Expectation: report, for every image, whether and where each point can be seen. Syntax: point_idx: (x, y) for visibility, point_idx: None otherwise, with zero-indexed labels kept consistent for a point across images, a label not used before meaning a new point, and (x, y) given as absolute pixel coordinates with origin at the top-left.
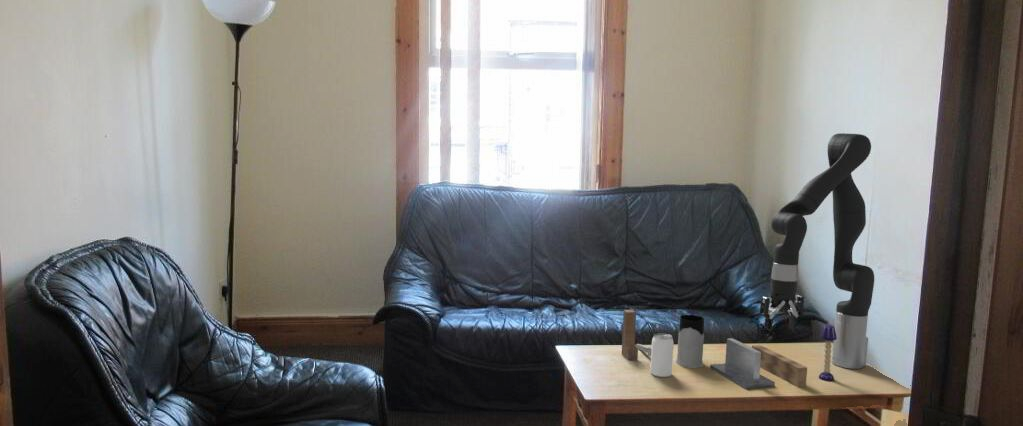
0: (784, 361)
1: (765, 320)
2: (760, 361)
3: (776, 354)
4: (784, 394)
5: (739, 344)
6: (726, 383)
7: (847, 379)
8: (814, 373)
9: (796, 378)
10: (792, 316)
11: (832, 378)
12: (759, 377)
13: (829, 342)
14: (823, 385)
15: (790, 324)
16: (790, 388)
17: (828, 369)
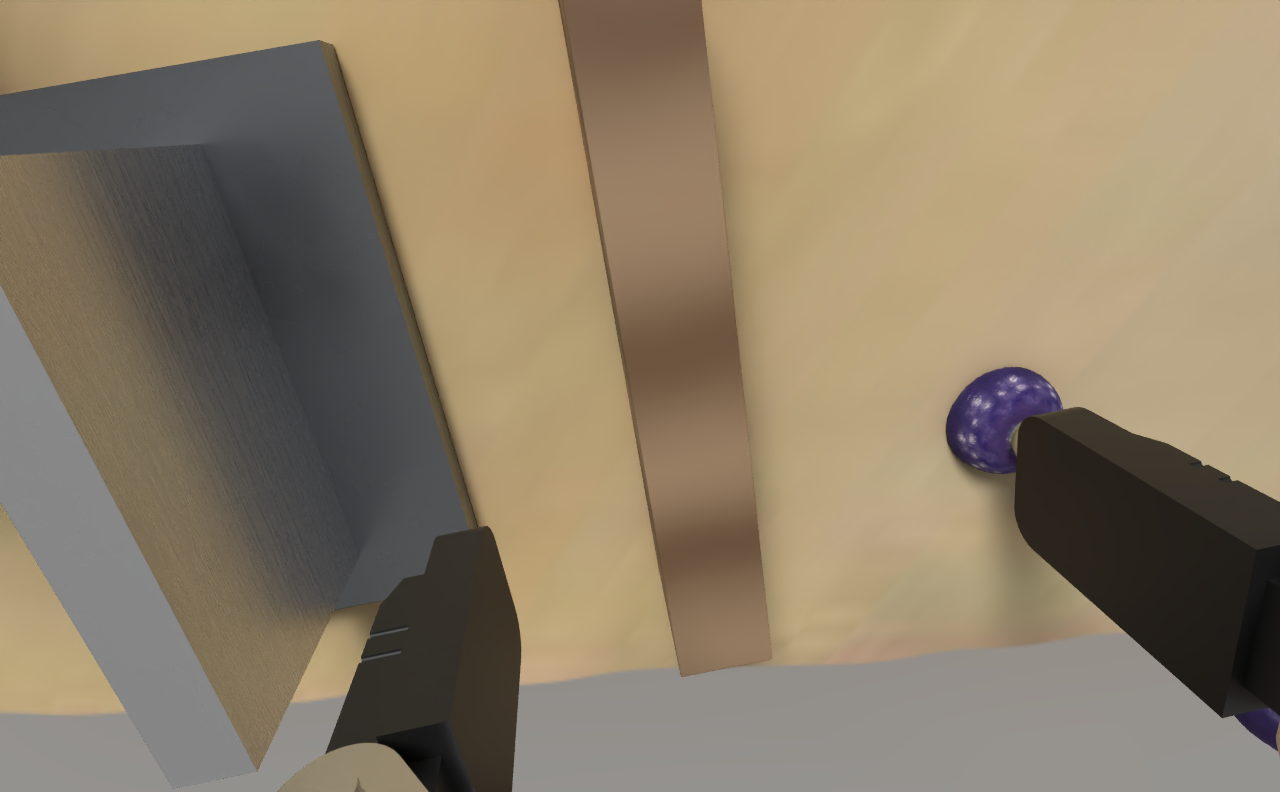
0: (652, 509)
1: (345, 734)
2: (298, 684)
3: (687, 299)
4: None
5: (14, 501)
6: None
7: (1142, 435)
8: (995, 301)
9: (664, 595)
10: (1274, 652)
11: None
12: (396, 482)
13: None
14: (872, 542)
15: (1077, 493)
16: (591, 593)
17: None
